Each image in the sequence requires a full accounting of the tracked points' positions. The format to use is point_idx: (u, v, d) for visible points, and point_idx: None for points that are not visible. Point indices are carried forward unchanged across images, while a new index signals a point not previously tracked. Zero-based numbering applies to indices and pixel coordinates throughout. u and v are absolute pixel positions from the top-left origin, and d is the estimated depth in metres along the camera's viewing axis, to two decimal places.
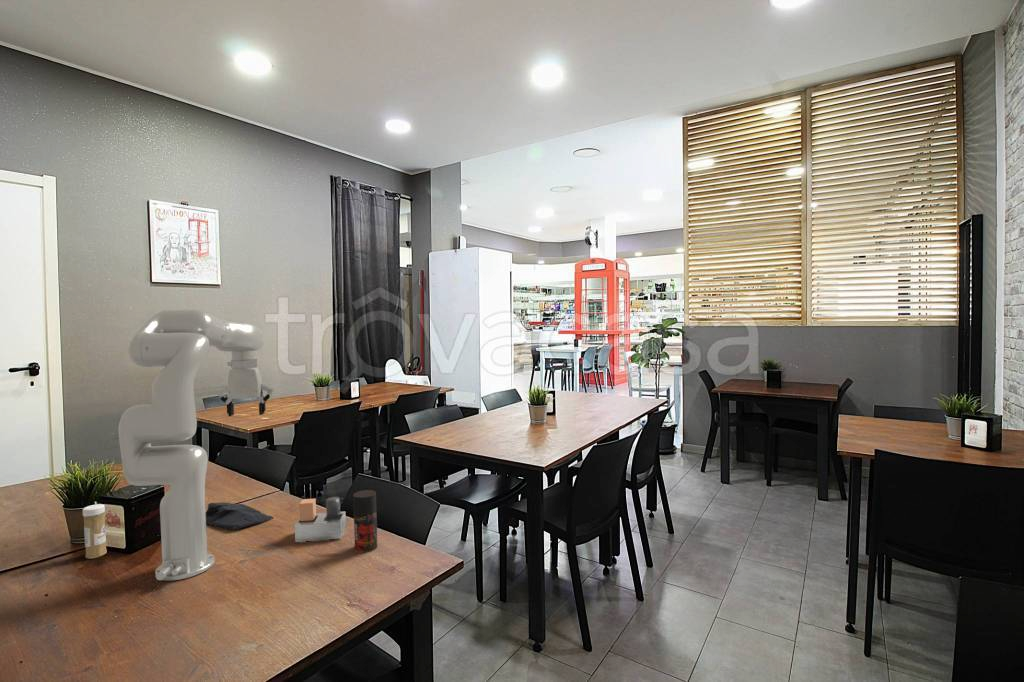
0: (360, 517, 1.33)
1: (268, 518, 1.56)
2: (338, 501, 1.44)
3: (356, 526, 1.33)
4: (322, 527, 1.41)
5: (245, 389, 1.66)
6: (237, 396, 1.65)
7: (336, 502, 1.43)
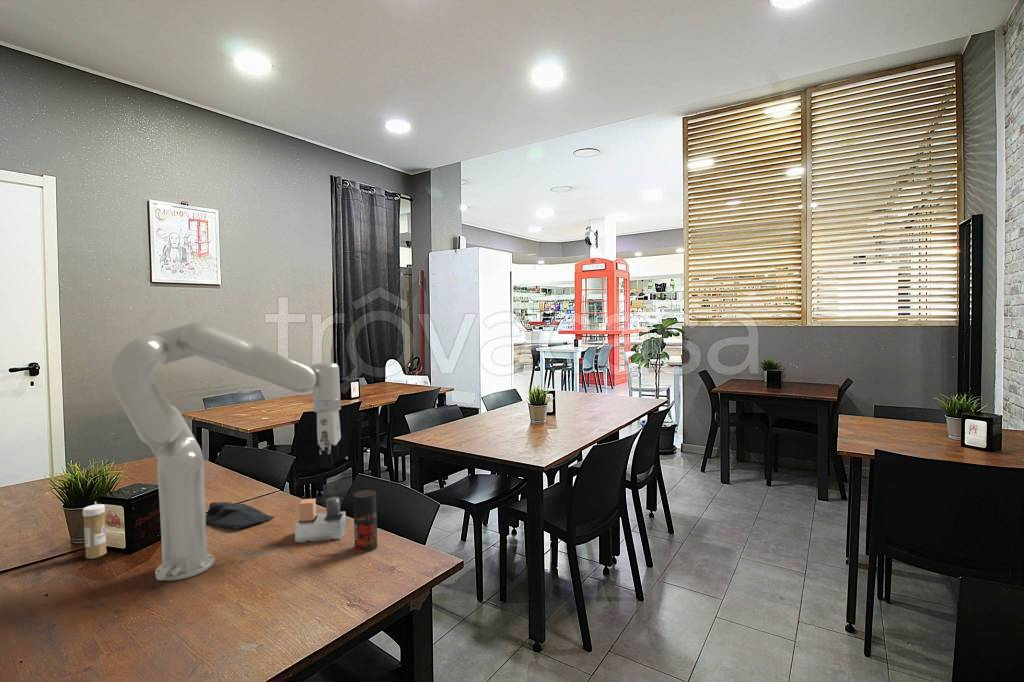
0: (360, 517, 1.33)
1: (269, 518, 1.56)
2: (338, 501, 1.44)
3: (356, 526, 1.33)
4: (322, 527, 1.41)
5: (338, 431, 1.46)
6: (337, 441, 1.44)
7: (336, 502, 1.43)
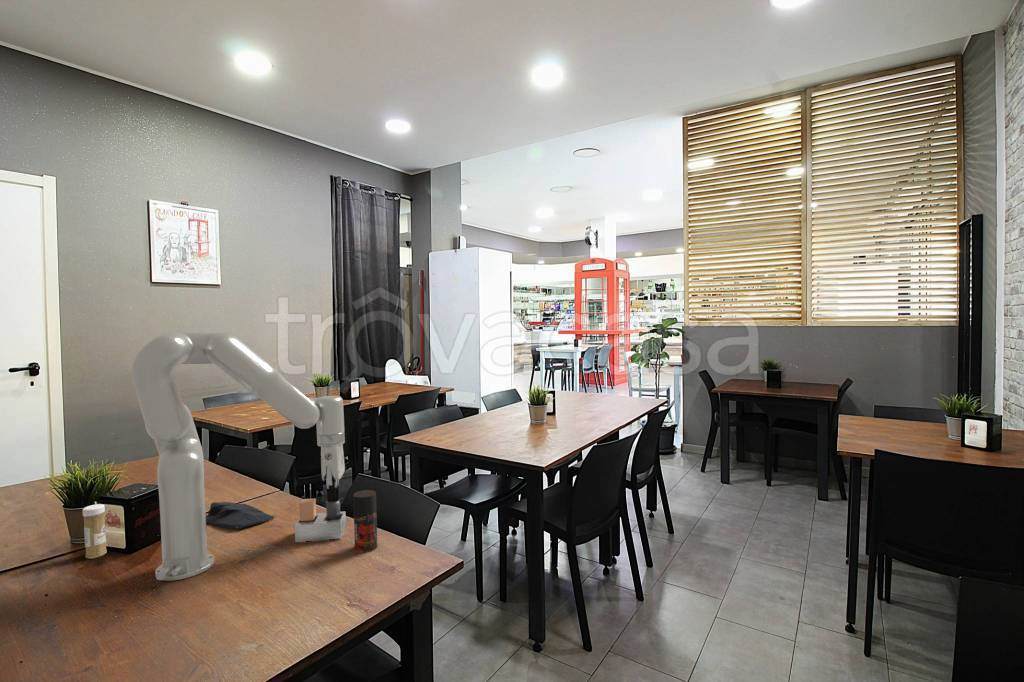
0: (360, 517, 1.33)
1: (270, 518, 1.56)
2: (338, 503, 1.44)
3: (356, 526, 1.33)
4: (322, 527, 1.41)
5: (342, 464, 1.46)
6: (341, 474, 1.43)
7: (336, 504, 1.44)
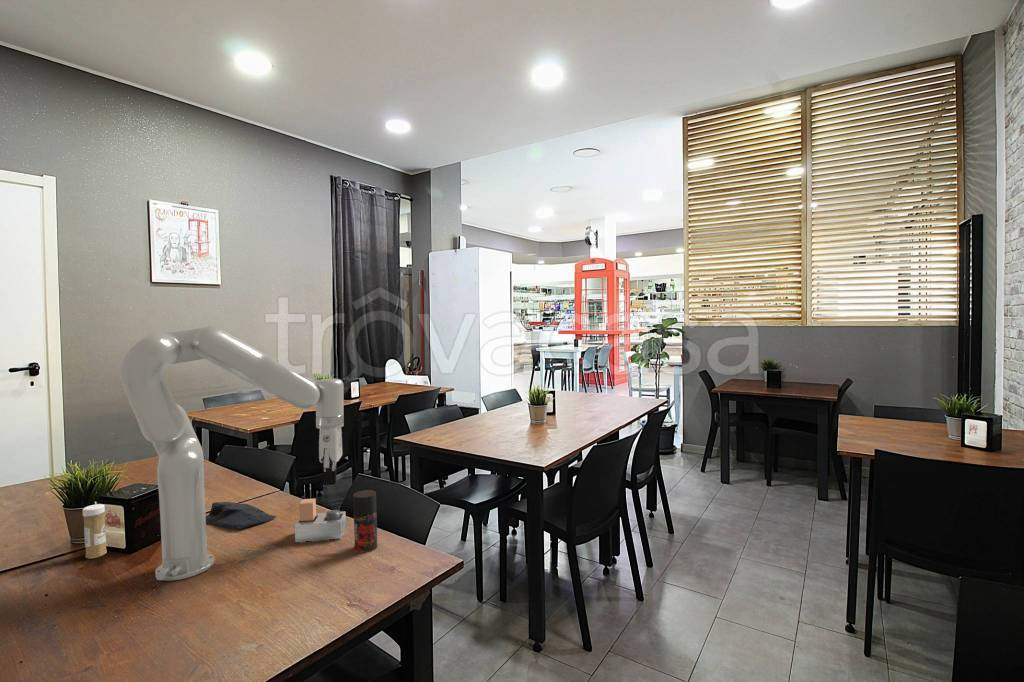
0: (360, 517, 1.33)
1: (271, 518, 1.56)
2: (338, 514, 1.44)
3: (356, 526, 1.33)
4: (322, 527, 1.41)
5: (340, 448, 1.45)
6: (339, 458, 1.43)
7: (336, 515, 1.44)
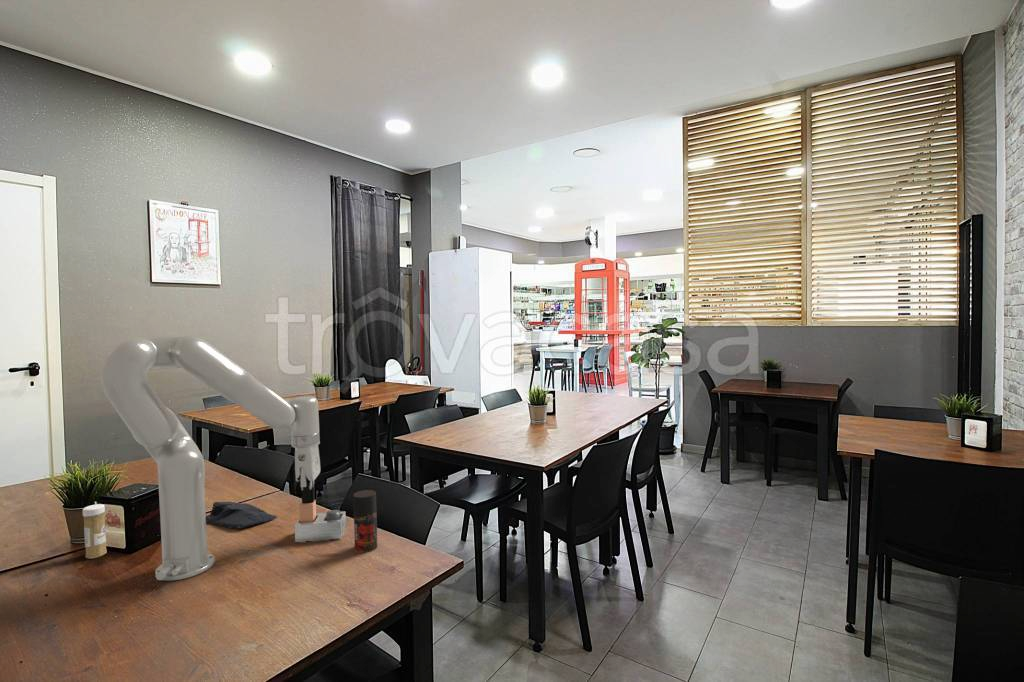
0: (360, 517, 1.33)
1: (272, 517, 1.56)
2: (338, 514, 1.44)
3: (356, 526, 1.33)
4: (322, 527, 1.41)
5: (317, 465, 1.44)
6: (316, 476, 1.42)
7: (336, 515, 1.44)
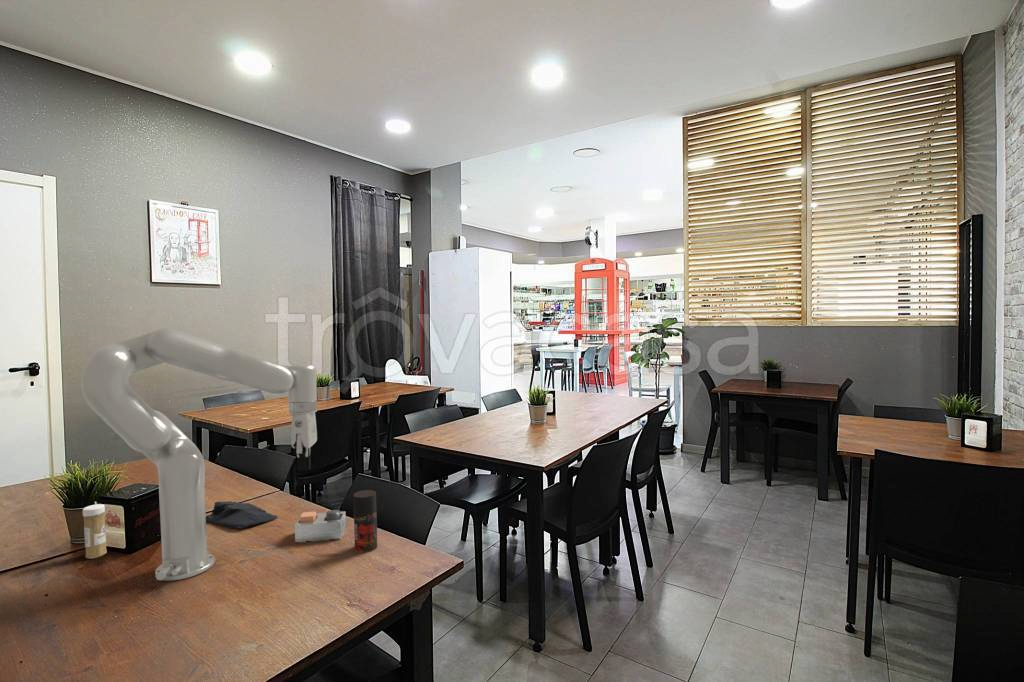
0: (360, 517, 1.33)
1: (273, 517, 1.56)
2: (338, 514, 1.44)
3: (356, 526, 1.33)
4: (322, 527, 1.41)
5: (314, 433, 1.44)
6: (312, 443, 1.42)
7: (336, 515, 1.44)
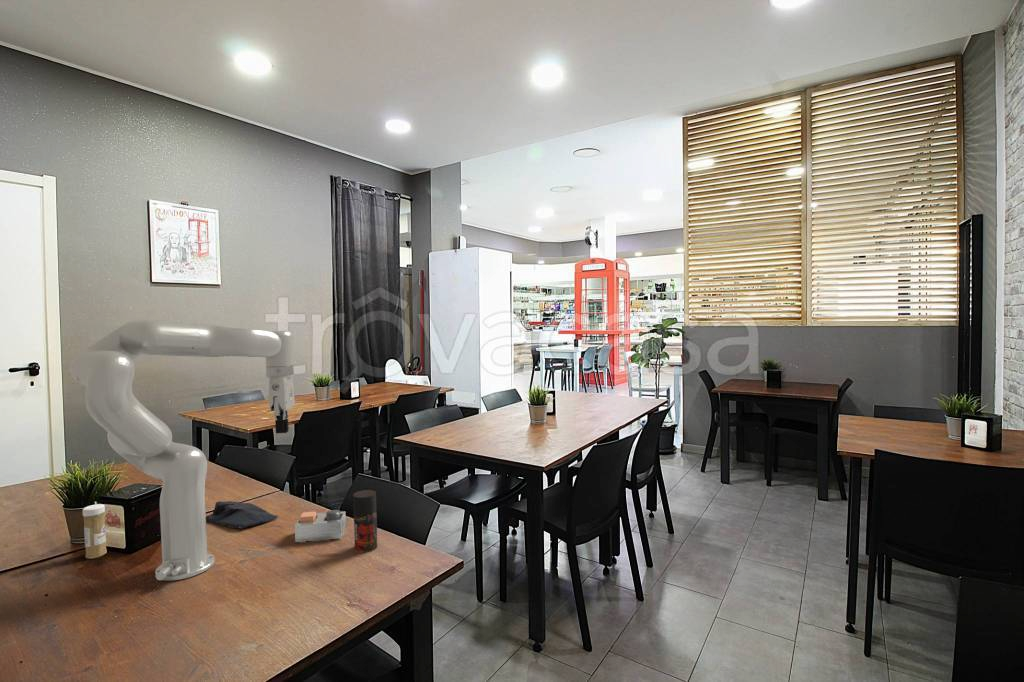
0: (360, 517, 1.33)
1: (273, 518, 1.56)
2: (338, 514, 1.44)
3: (356, 526, 1.33)
4: (322, 527, 1.41)
5: (291, 397, 1.50)
6: (289, 406, 1.48)
7: (336, 515, 1.44)
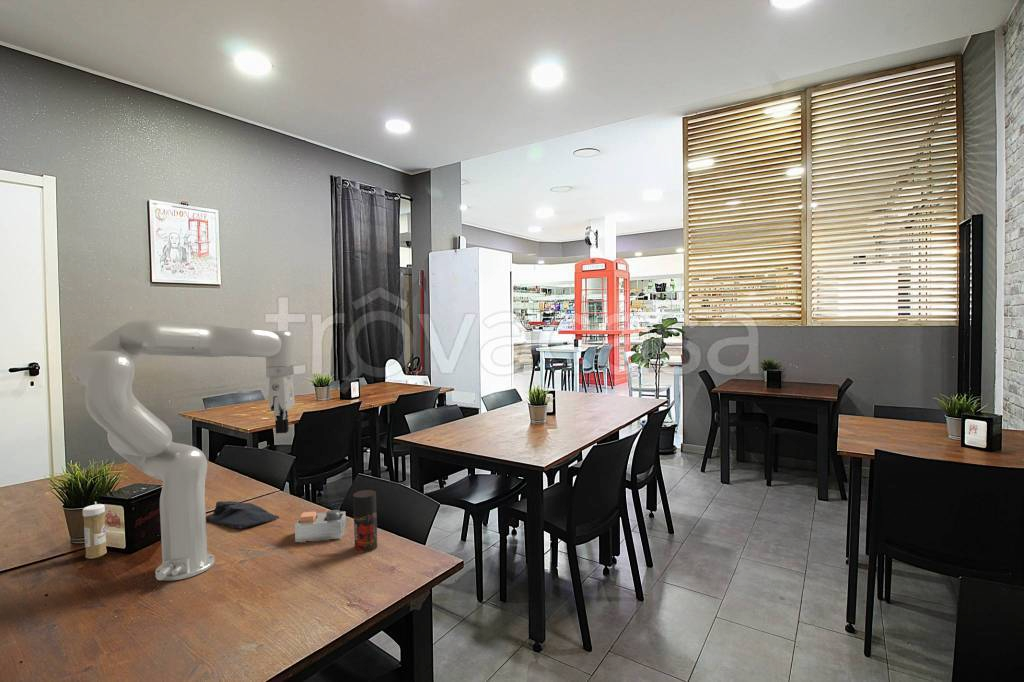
0: (360, 517, 1.33)
1: (274, 518, 1.56)
2: (338, 514, 1.44)
3: (356, 526, 1.33)
4: (322, 527, 1.41)
5: (291, 397, 1.50)
6: (289, 406, 1.48)
7: (336, 515, 1.44)
